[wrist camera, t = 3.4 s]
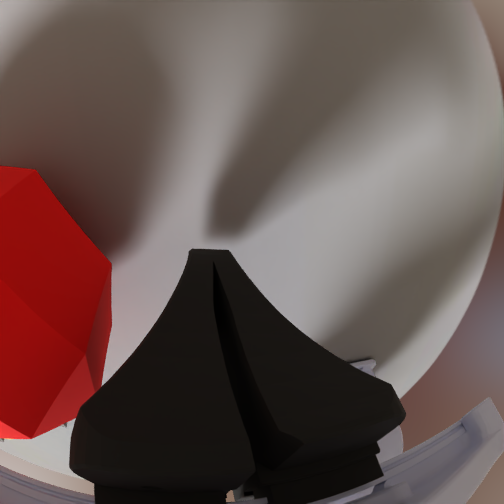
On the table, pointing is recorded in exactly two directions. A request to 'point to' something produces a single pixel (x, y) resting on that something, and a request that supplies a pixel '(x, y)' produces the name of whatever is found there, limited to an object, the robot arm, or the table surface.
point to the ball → (47, 309)
